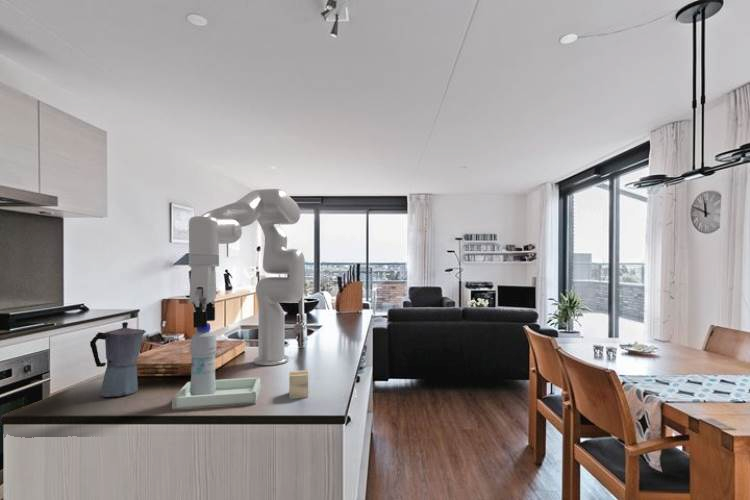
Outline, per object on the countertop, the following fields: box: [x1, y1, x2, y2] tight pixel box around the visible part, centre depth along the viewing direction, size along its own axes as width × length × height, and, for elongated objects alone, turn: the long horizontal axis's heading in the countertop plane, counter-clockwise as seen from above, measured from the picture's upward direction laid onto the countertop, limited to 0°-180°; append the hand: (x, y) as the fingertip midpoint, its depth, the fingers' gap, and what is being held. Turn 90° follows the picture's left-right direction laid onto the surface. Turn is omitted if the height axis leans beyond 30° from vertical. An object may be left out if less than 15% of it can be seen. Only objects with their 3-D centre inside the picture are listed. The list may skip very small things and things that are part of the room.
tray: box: [171, 376, 262, 411], centre depth 104 cm, size 14×20×3 cm
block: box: [288, 369, 309, 399], centre depth 107 cm, size 5×5×6 cm
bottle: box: [189, 322, 218, 396], centre depth 104 cm, size 7×7×20 cm
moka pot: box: [89, 321, 147, 398], centre depth 109 cm, size 10×15×20 cm, turn 161°
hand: (204, 323), depth 105 cm, fingers open, 9 cm apart
